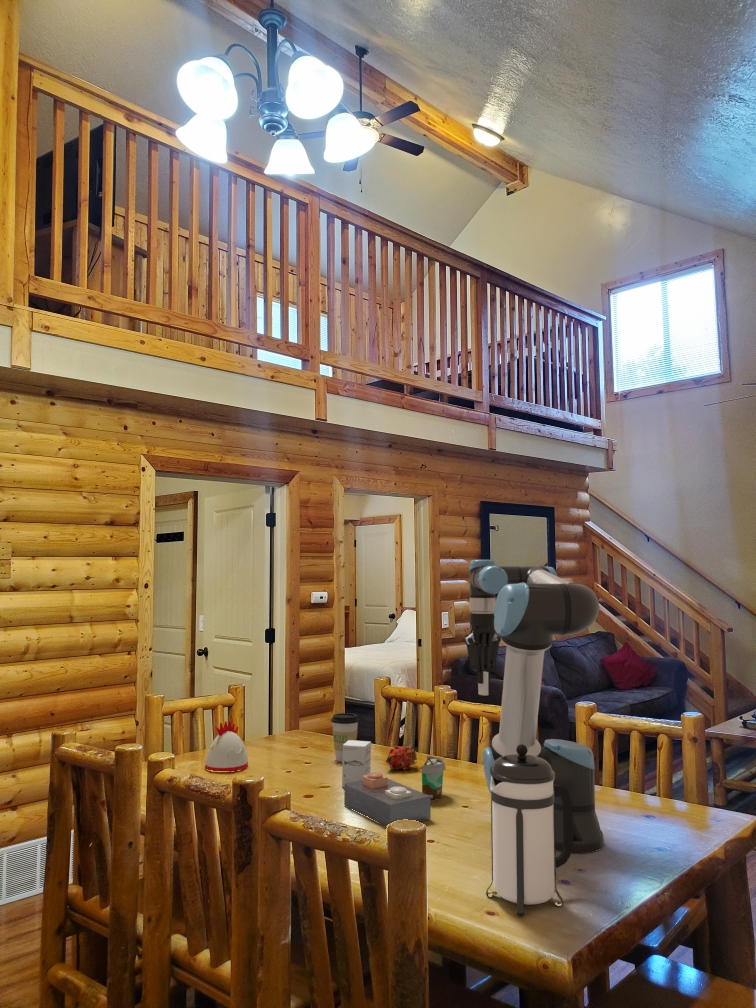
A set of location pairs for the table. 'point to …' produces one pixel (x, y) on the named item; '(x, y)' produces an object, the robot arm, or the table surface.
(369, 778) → the terracotta plunger
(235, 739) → the kitchen timer
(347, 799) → the block
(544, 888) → the coffee press
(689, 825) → the table surface
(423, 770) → the food container
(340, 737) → the coffee cup
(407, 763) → the dragon fruit
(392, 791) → the dome-topped white cube
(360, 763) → the supplement box
